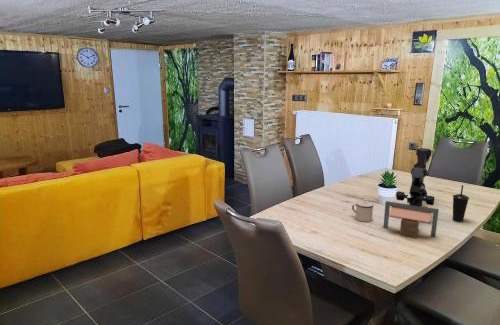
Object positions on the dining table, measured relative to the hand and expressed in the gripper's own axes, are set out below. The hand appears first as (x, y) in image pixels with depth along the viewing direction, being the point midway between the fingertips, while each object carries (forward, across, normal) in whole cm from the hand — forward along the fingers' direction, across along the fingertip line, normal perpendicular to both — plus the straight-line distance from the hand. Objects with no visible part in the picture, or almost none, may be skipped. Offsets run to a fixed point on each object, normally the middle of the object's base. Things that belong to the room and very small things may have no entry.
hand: (412, 212), depth 187 cm
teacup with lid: (+9, -25, 0) cm, 27 cm away
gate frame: (+14, 0, -5) cm, 14 cm away
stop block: (+13, 0, -5) cm, 14 cm away
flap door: (+11, 0, -15) cm, 19 cm away
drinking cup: (-6, +22, +16) cm, 27 cm away
